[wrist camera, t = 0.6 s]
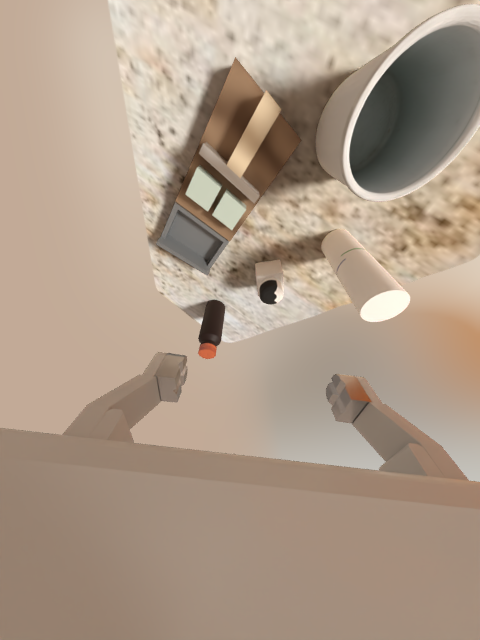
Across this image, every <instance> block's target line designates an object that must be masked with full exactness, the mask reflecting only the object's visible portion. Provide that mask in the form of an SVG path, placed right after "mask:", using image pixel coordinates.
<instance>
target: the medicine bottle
mask: <svg viewBox="0 0 480 640" xmlns="http://www.w3.org/2000/svg"><path fill="white" fill-rule="evenodd" d="M255 271H256V282H257V290H258V296H259V297H260V299H261V301H262V302H264V303H266V304H275V303H278V302H279V301H280V300H281V299H282V298H283V293H284V287H283V270H282V265H281V261H280V260H273V261H266V262H259V263H255Z"/></svg>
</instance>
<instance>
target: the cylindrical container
mask: <svg viewBox="0 0 480 640" xmlns="http://www.w3.org/2000/svg"><path fill="white" fill-rule="evenodd" d="M321 249H322V252H323V253H324V255H325V257H326V258H327V260H328V262H329V263H330V265H331V267H332V268H333V270H334V272H335V274H336V275H337V277H338V279H339V280H340V282H341V284H342V285H343V287H344V289H345V290H346V292H347V294H348V295H349V297H350V299H351V301H352V302H353V304H354V305H355V307H356V309H357V311H358V312H359V314H360V316H361V317H362V318H363V319H364V320H366V321H369V322H379V321H384V320H387V319H390V318H392V317H394V316H396V315H398V314H399V313H401V312H402V311H403V310H404V309H405V308H406V307H407V306H408V304H409V302H410V296H409V294H408V293H407V292H406V291H405V290H404V289H403V288H402V287H401V286H400V285H399V284H398V283H397V282H396V281H395V279H394V278H393V277H392V276H391V275H390V274H389V273H388V272H387V271H386V270H385V269H384V268H383V267H382V266H381V265H380V264H379V263H378V262H377V261H376V260H375V259H374V258H373V257H372V256H371V254H370V253H369V252H368V251H367V250H366V249H365V248H364V247H363V246H362V245H361V244H360V243H359V242H358V241H357V240H356V239H355V238H354V237H353V236H352V235H351V234H350V233H349V232H348V231H347V230H345V229H336V230H333V231H331V232H330V233H329V234H327V235H326V237H325V238H324V239H323V241H322V244H321Z"/></svg>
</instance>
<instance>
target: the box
mask: <svg viewBox="0 0 480 640" xmlns="http://www.w3.org/2000/svg"><path fill="white" fill-rule="evenodd" d="M228 243H229V241H228V240H227V239H226V238H224V237H223V236H222V235H220V234H219V233H217V232H216V231H215V230H213V229H212V228H211V227H209V226H208V225H207V224H205V223H204V222H203V221H201V220H200V219H198V218H197V217H196V216H194V215H193V214H192V213H190V212H189V211H188V210H186V209H185V208H184V207H182V206H181V205H180V204H178V203H177V202H175V204H174V206H173V209H172V211H171V214H170V216H169V218H168V221H167V223H166V225H165V228H164V230H163V233H162V235H161V237H160V238H159V239H158V241H157V243H156V245H158V246H160V247H161V248H163V249H164V250H166V251H168V252H169V253H171V254H173V255H174V256H176V257H178V258H179V259H181V260H183V261H184V262H186V263H187V264H189V265H191V266H192V267H194V268H196V269H197V270H199V271H201V272H202V273H204V274H206V275H208V274H209V272H210V268H211V267H212V265H213V264H214V262H215V261H216V260H217V258H218V257H219V255H220V254H221V252H222V251H223V250H224V248H225V247H226V245H227V244H228Z"/></svg>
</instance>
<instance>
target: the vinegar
mask: <svg viewBox="0 0 480 640" xmlns="http://www.w3.org/2000/svg"><path fill="white" fill-rule="evenodd" d="M224 314H225V306H224V304H223V303H222V302H220V301H217V300H212V301H210V302H208V303H207V305H206V309H205V313H204V317H203V322H202V326H201V330H200V334H199V338H198V339H199V342H200V343H201V345H200V348H199V352H198V354H199V355H200V356H201V357H203V358H206V359H210V358H214V357H215V355H216V346H217V345H219V344H220V342H221V336H222V329H223V322H224Z"/></svg>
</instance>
